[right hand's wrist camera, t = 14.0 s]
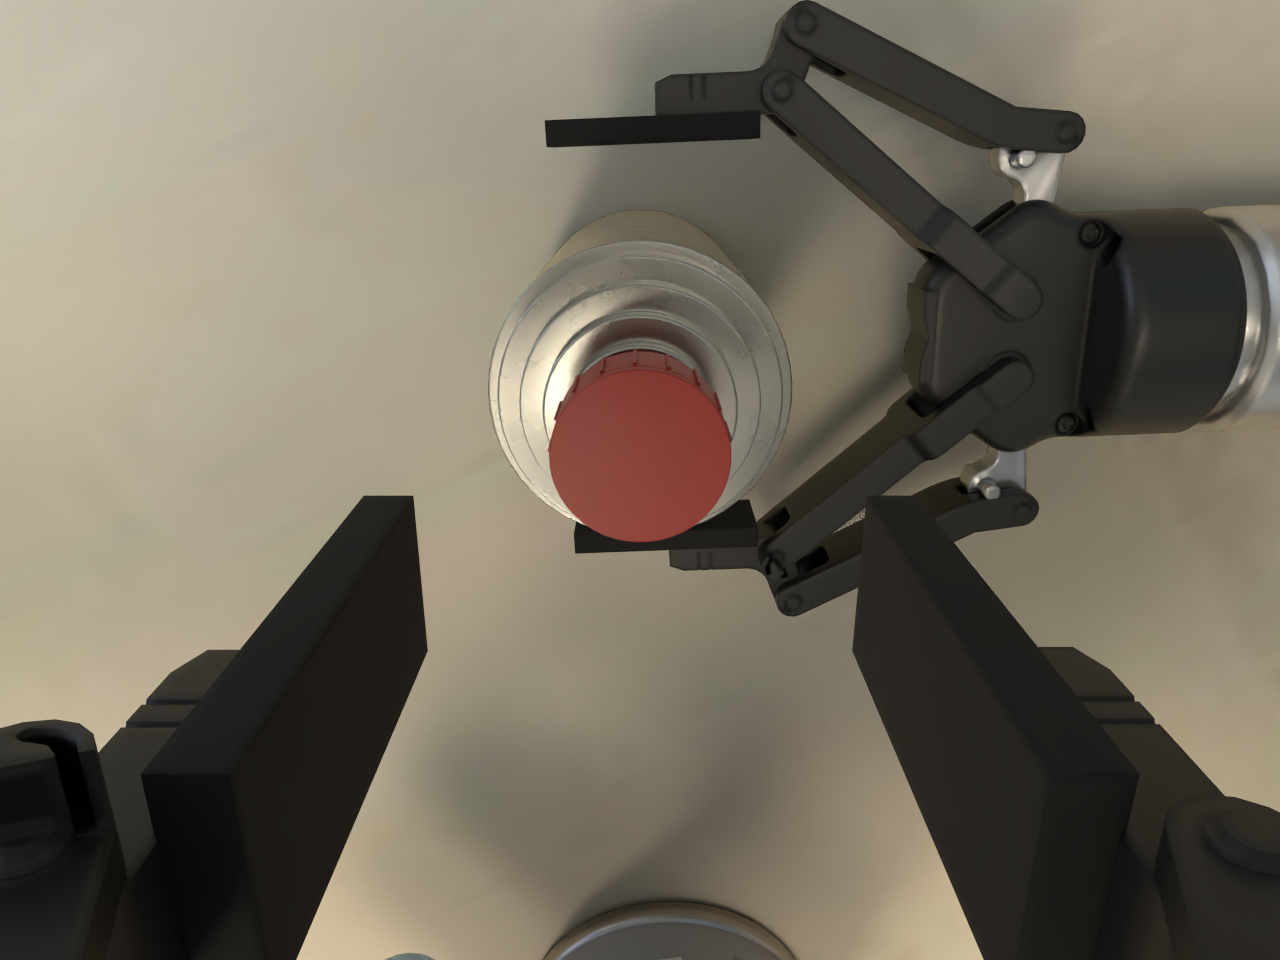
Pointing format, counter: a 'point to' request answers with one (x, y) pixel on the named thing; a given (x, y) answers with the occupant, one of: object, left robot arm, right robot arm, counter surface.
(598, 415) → the cap
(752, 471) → the bottle
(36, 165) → the counter surface
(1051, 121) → the left robot arm
